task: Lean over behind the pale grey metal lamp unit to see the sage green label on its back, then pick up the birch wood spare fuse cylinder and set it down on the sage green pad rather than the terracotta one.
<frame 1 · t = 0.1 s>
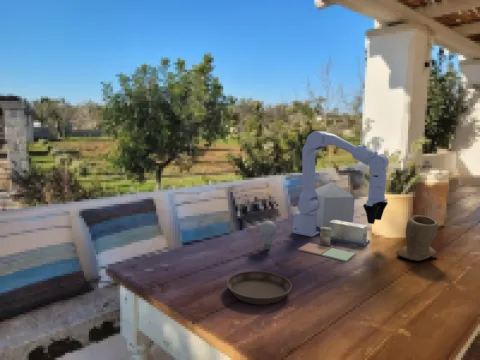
hand: (374, 221, 138), 10 cm above the table, tool pointing down, fingers open, 7 cm apart
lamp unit: (347, 240, 146), on the table
plant saucer: (258, 293, 99), on the table
sage pad: (338, 255, 129), on the table
spare fuse: (324, 244, 141), on the table
decorative block: (329, 224, 171), on the table
stone cup: (418, 257, 128), on the table
terracotta pad: (314, 249, 135), on the table
lightbulb: (267, 250, 133), on the table
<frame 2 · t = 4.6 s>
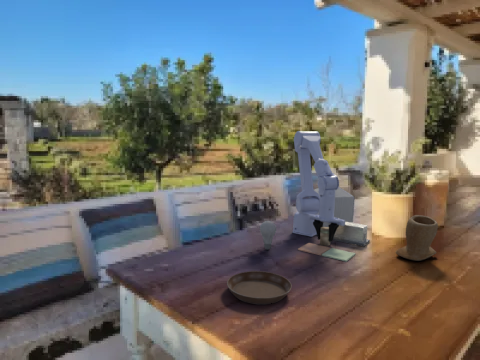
hand: (325, 240, 141), 2 cm above the table, tool pointing down, fingers closed on spare fuse, 4 cm apart
spare fuse: (324, 244, 141), on the table, touching gripper
everything else where it was.
when the fingers open (3 cm above the table, at t = 10.3 s): spare fuse stays where it is, resting on sage pad.
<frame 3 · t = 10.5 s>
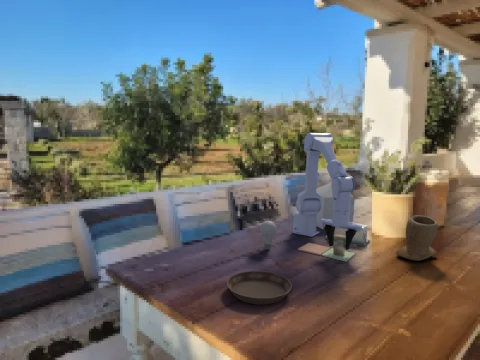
hand: (339, 247, 129), 3 cm above the table, tool pointing down, fingers open, 5 cm apart
spare fuse: (338, 253, 129), point 1 cm above the table, touching sage pad
everything else where it was.
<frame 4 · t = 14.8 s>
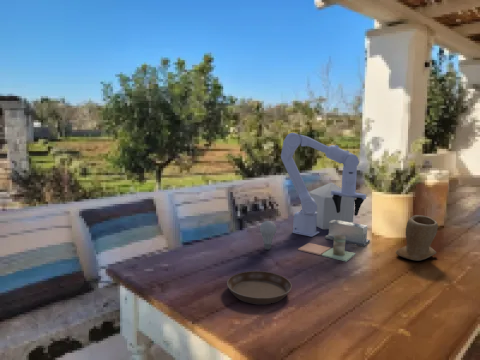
hand: (347, 213, 152), 9 cm above the table, tool pointing down, fingers open, 7 cm apart
nothing on the table moved.
at the end: spare fuse 0.0 cm off-centre on the sage pad, point 0.5 cm above the sage pad's base; spare fuse tilted 0°; the gripper is holding nothing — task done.
